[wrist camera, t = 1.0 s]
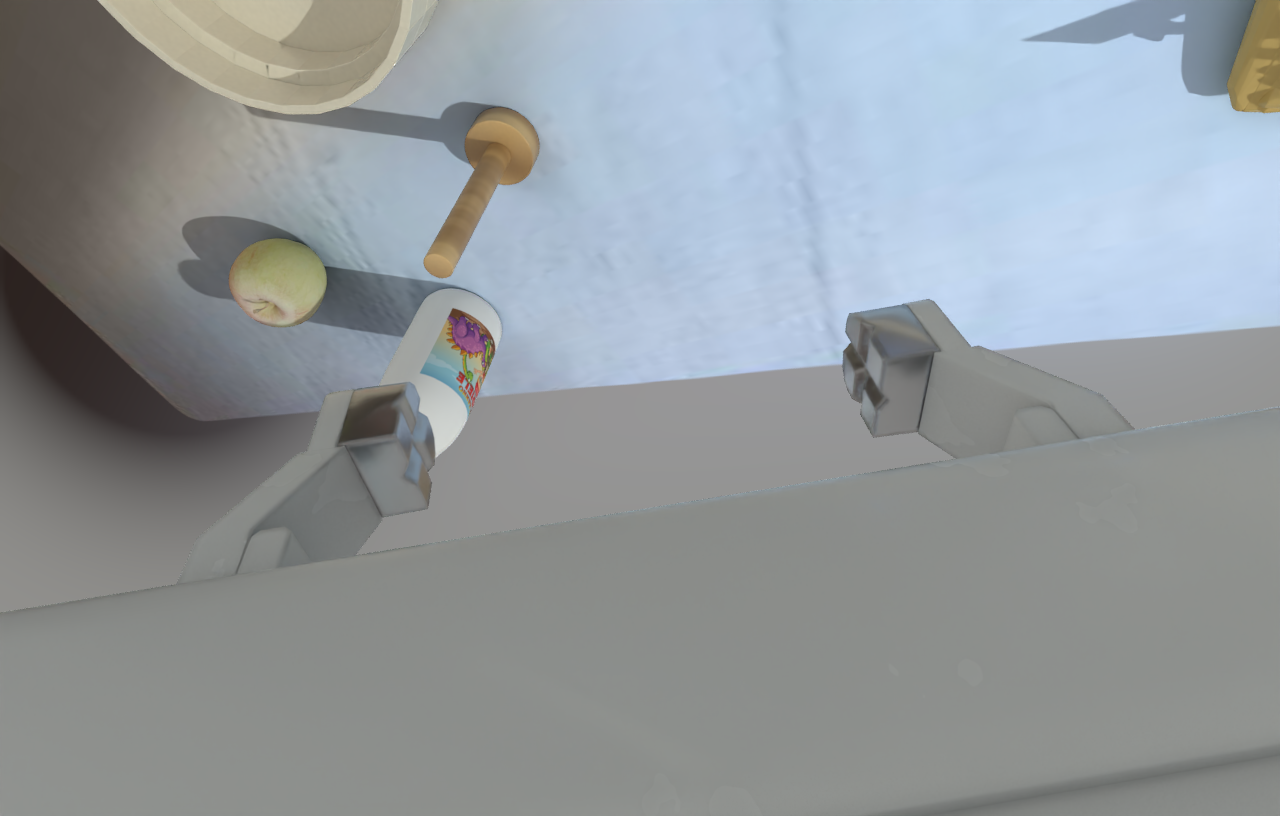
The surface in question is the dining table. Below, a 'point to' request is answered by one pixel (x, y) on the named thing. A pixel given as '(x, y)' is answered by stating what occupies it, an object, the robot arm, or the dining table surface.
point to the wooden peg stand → (484, 180)
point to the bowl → (279, 46)
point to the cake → (1258, 62)
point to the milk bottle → (447, 358)
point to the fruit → (278, 282)
